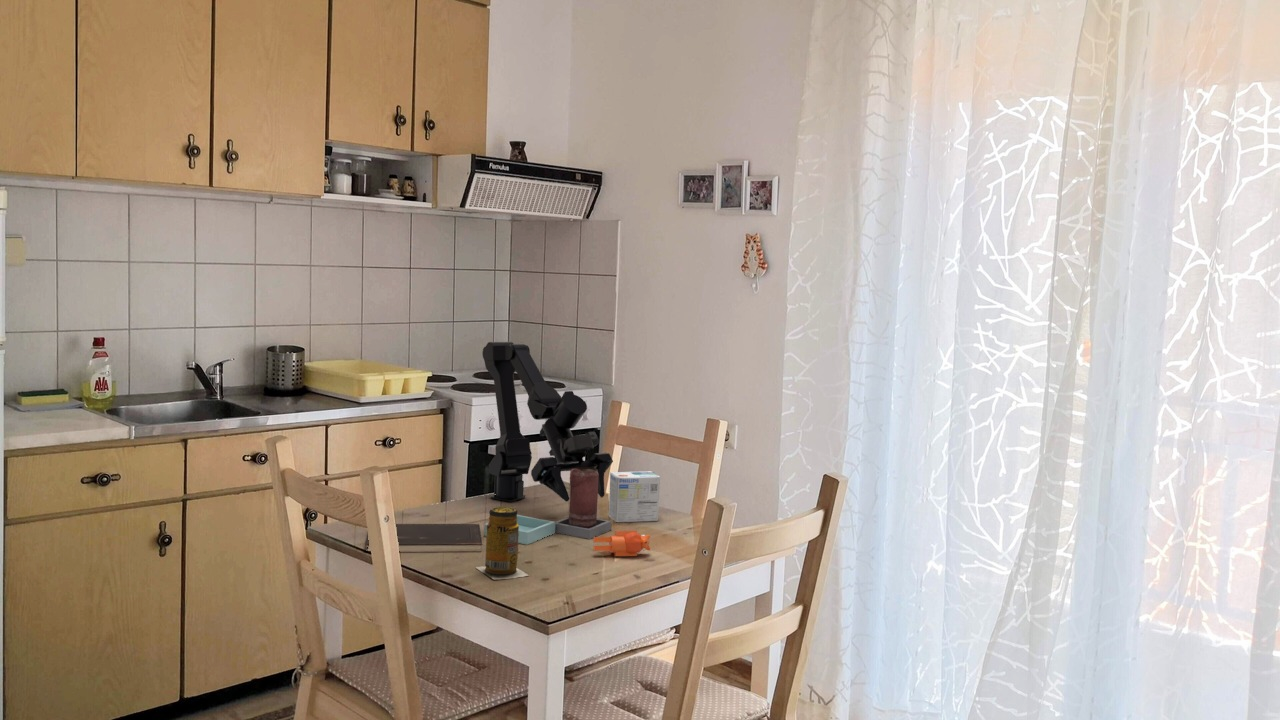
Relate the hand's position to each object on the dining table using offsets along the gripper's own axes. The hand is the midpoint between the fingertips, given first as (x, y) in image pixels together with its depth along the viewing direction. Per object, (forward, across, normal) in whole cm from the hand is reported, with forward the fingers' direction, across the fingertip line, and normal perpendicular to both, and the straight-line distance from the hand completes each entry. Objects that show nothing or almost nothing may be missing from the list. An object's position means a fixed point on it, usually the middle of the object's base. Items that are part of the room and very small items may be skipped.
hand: (585, 498), depth 226 cm
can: (+5, 0, +6) cm, 8 cm away
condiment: (+18, -30, -7) cm, 35 cm away
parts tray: (+2, -14, +8) cm, 16 cm away
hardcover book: (0, -34, +12) cm, 36 cm away
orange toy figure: (+18, -2, -7) cm, 19 cm away
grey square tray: (+5, 0, +6) cm, 8 cm away
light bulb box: (+2, +17, +9) cm, 19 cm away
